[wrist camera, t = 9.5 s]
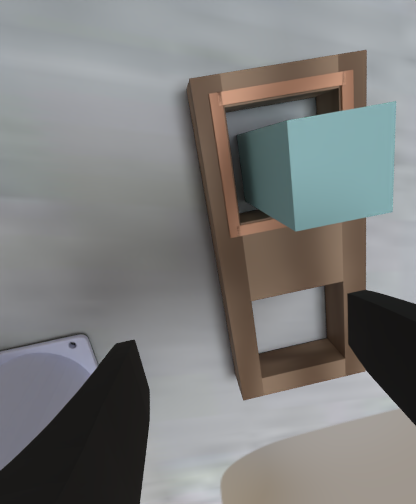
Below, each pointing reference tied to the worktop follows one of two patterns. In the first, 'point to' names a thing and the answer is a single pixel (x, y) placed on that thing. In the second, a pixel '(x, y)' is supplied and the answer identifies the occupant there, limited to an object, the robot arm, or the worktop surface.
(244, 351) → the wooden double hole frame
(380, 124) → the peg
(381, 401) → the worktop surface
